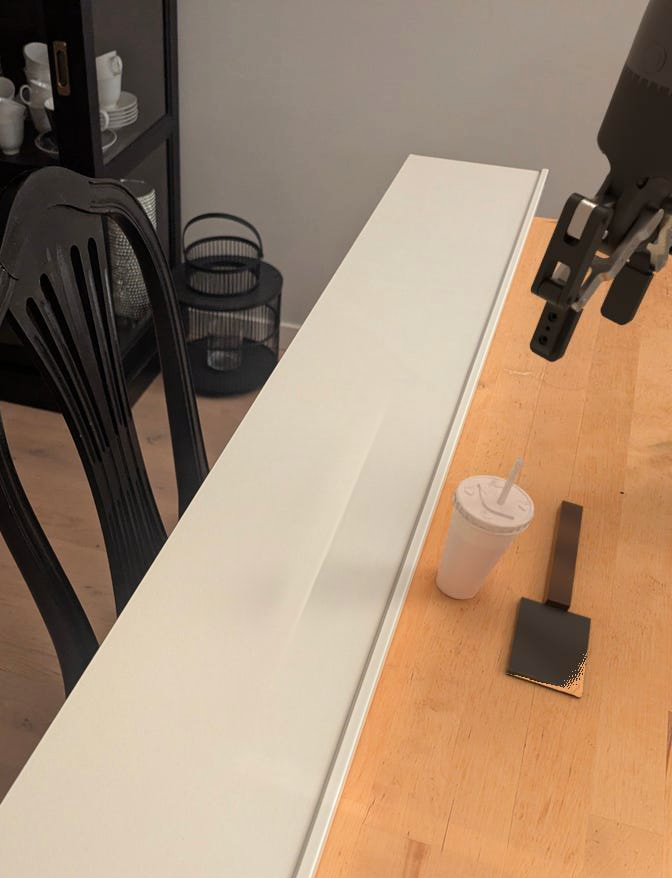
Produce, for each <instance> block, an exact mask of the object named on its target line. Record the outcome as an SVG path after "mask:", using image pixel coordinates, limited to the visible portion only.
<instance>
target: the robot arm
mask: <svg viewBox="0 0 672 878" xmlns="http://www.w3.org/2000/svg"><path fill="white" fill-rule="evenodd" d="M633 38H634V39H633V41H632V44H631V46H630V49H629V52H628V54H627V57H626V59H625V62H624V64H623V67H622V68H621V69H622V70H621V71H620V75H619V77H618V80H617V82H616V84H615V88H614V90H613V92H612V95H611V98H610V100H609V103H608V106H607V108H606V112H605V114H604V117H603V119H602V121H601V125H600V127H599V129H598V133H597V137H596V144H597V147H598V149H599V151H600V152H601V153H602V155H605V157H606V159H607V161H608V162H609V163H608V164H609V172H608V173H607V174H606V177H605V178H604V181H603V182H602V184H601V185H600V187H599V188H598V190H597V192H596V193H595V194H594V196H593V197H591V198H589V197H587V196H585V195H582V194H580V193H578V192H573V193H571V194H570V195H569V197H568V198H567V199H566V201H565V203H564V206H563V208H562V210H561V213H560V215H559V218H558V220H557V222H556V225H555V227H554V230H553V232H552V235H551V237H550V240H549V242H548V245H547V246H546V250H545V252H544V255H543V257H542V260H541V262H540V264H539V267H538V269H537V272H536V273H535V277H534V279H533V281H532V284H531V287H530V293H531V294H533V295H534V296H537V297H538V298H540V299H543V300H544V301H546V302H545V304H544V306H543V309H542V311H541V314H540V317H539V318H538V321H537V324H536V326H535V329H534V332H533V333H532V337H531V339H530V342H529V349H530V351H531V352H532V353H533V354H535V355H537V356H539V357H540V358H542V359H544V360H546V361H547V362H549V363H554V362H557V361H559V360H561V359H562V358H563V357H564V356H565V353H566V351H567V350H568V347H569V345H570V342H571V340H572V337H573V335H574V333H575V330H576V328H577V325H578V323H579V322H580V319H581V317H582V314H583V313H584V312H583V311H584V310H585V309H584V307H586V305H587V303H588V302H589V300H590V299H591V298H592V296H593V295H594V294H595V292H596V291H597V289H598V288H599V287H600V285H601V284H602V283H603V282H609V281H611V284H610V286H609V289H608V290H607V293H606V295H605V297H604V300H603V302H602V304H601V307H600V315H601V317H603V318H605V319H607V320H609V321H611V322H613V323H615V324H616V325H618V326H625V325H627V324H629V323H631V322H633V320H634V318H635V316H636V314H637V312H638V310H639V308H640V306H641V304H642V302H643V300H644V298H645V295H646V293H647V291H648V289H649V287H650V286H651V283H652V280H653V279H654V277H655V276H656V275H655V273H656V274H658V273H660V272H661V271H662V270H663V269H664V268H665V266H666V265H667V262H668V260H669V256H672V0H649V1H648V3H647V5H646V7H645V10H644V12H643V15H642V17H641V20H640V22H639V25H638V29H637V31H636V33H635V35H634V37H633ZM597 252H598V253H601V254H603V255H605V256H607V257H601V256H600V255H597ZM559 263H560V264H559ZM558 264H559V266H558ZM557 266H558V267H557ZM556 268H557V269H556ZM588 273H589V274H588ZM587 275H588V276H587ZM586 276H587V278H586Z"/></svg>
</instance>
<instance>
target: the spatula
mask: <svg viewBox="0 0 672 878" xmlns="http://www.w3.org/2000/svg"><path fill="white" fill-rule="evenodd" d="M556 513H557V514H556V519H555V524H554V531H553V537H552V543H551V550H550V557H549V563H548V567H547V568H548V569H547V576H546V582H545V588H544V593H543V600H542V602H540V601H538V600H537V601H536V600H534V599H531V598H527V597H524V596H521V597H520V598H519V601H518V605H517V611H516V617H515V621H514V628H513V633H512V637H511V644H510V649H509V653H508V659H507V664H508V666H507V665H506V670H507V671H506V670H505V674H506V673H508V674H512V675H518V676H521V677H525V678H529V679H530V680H534V681H537V682H541V683H546V684H551V685H555V686H560V687H563V688H564V687H565V686H566V685H567V683H568V682H569V680H570V679H571V680H570V683H571V684H572V683H573V682H574V680H575V678H576V677H577V675H578V673H579V672H580V670H581V668H582V667H580V665H581V664H582V662H583V664H584V662H585V660H586V658H587V659H588V655H587V656H585V655H586V653H587V650H589V641H590V633H591V622H592V618H590V617H588V616H585V615H582V614H579V613H575V612H572V611H569V610H570V608H571V604H572V597H573V590H574V582H575V574H576V566H577V558H578V552H579V551H578V550H579V543H580V537H581V536H580V535H581V528H582V521H583V520H582V519H583V513H584V506H583V505H580V504H578V503H574V502H571V501H567V500H564V499H562V500H561V502H560V504H559V506H558V508H557V512H556ZM583 654H584V655H583ZM587 654H588V653H587ZM584 657H586V658H584ZM583 659H584V661H583ZM579 663H580V664H579ZM583 664H582V666H583ZM578 665H579V666H578ZM585 665H586V666H587V663H586V664H585ZM579 667H580V669H579ZM583 668H584V667H583ZM578 669H579V671H578ZM575 670H576V671H575ZM572 671H573V672H572ZM582 671H583V669H582ZM582 671H581V672H582ZM508 674H507V675H508ZM575 674H576V676H575ZM580 674H581V673H579V676H580ZM572 675H573V677H572ZM582 675H583V673H582ZM569 676H570V677H569ZM579 676H578V677H579ZM573 678H574V679H573ZM572 679H573V682H571V681H572ZM577 679H578V678H576V681H577ZM564 680H565V681H564ZM567 680H568V681H567ZM579 680H580V678H579ZM566 682H567V683H566ZM570 683H568V686H569V684H570ZM564 684H565V686H564ZM561 685H562V686H561ZM573 685H574V684H573ZM576 685H577V684H576ZM568 686H567V687H568ZM570 686H571V685H570ZM569 688H570V687H569ZM569 688H568V689H569Z"/></svg>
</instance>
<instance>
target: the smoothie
mask: <svg viewBox="0 0 672 878" xmlns="http://www.w3.org/2000/svg"><path fill="white" fill-rule="evenodd" d="M524 461H525V460H524V459H523V458H520V457H518V458H516V459H515V461H514V463H513V465H512V468H511V470H510V472H509V474H508V476H507V478H506V479H505V478H502V477H499V476H494V475H489V474H477V475H472V476H469V477H467V478H464V479H463V480H461V481H460V482H459V483H458V485H457V486H456V489H455V491H454V493H453V494H452V499H451V500H452V501H451V502H452V507H453V509H452V513H451V517H450V521H449V525H448V529H447V533H446V537H445V542H444V545H443V549H442V553H441V557H440V561H439V565H438V570H437V574H436V577H435V582H436V586H437V587H438V589H439V590H440V592H442V593H443V594H444V595H446V596H448V597H450V598H453V599H456V600H469V599H472V598H474V597H475V596H476V595H477V593H478V592H479V591H480V589H481V588H482V586H483V585H484V584H485V582H486V580H487V579H488V578H489V577H490V575H491V574H492V572H493V571H494V570H495V568H496V567H497V565H498V564H499V562H500V561H501V559H502V558H503V557H504V555H505V554H506V552H508V550H509V548H510V547H511V545H512V544H513V543H514V542H515V540H516V538H517V537H518V535H519V534H520V533H523V532H524V531H525V530H527V528H528V527H529V526H530V524H531V522H532V519H533V517H534V514H535V505H534V502H533V500H532V498H531V497H530V495H529V494H528V493H527V492H526V491H525V490H524V489H523V488H521V486H518V485H517V484H516V483H515V481H516V478H517V477H518V474H519V473H520V470H521V468H522V466H523V464H524Z"/></svg>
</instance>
